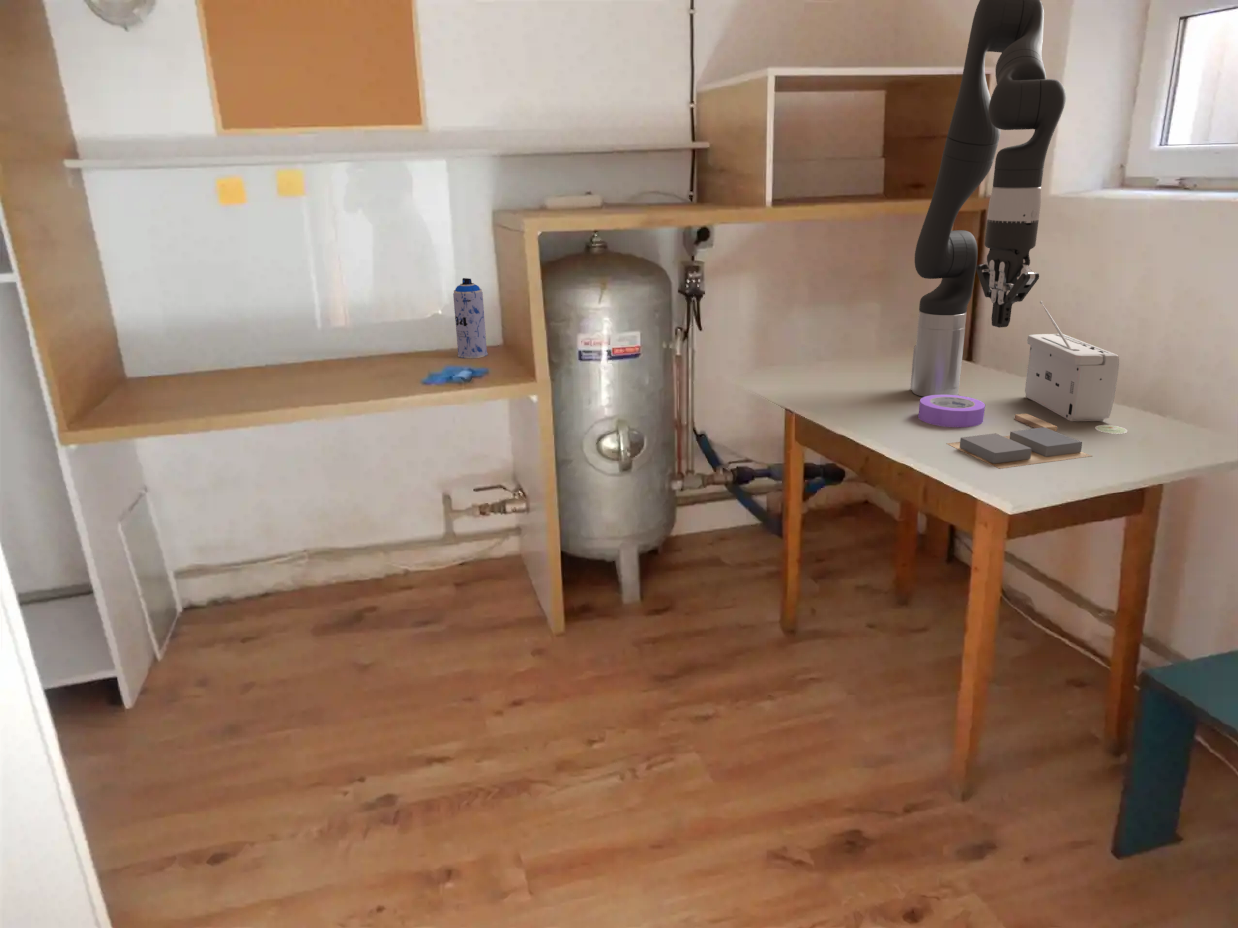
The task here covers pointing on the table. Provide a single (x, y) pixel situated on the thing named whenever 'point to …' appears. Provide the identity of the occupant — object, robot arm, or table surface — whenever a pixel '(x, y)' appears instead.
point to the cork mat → (1034, 459)
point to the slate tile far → (1046, 441)
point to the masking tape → (951, 410)
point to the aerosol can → (470, 320)
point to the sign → (1111, 429)
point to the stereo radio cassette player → (1071, 376)
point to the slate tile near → (995, 448)
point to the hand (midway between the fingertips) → (999, 326)
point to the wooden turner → (1034, 421)
